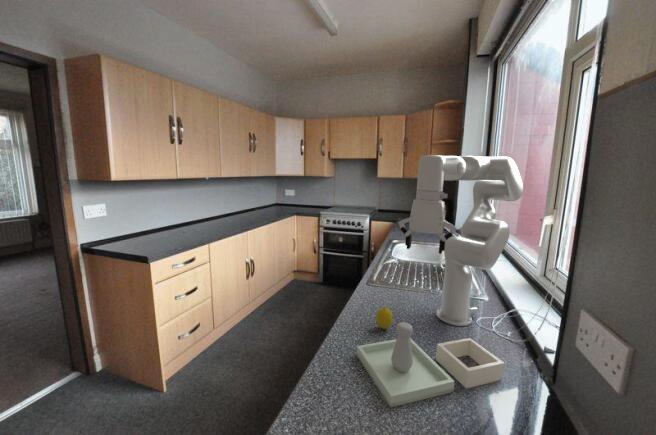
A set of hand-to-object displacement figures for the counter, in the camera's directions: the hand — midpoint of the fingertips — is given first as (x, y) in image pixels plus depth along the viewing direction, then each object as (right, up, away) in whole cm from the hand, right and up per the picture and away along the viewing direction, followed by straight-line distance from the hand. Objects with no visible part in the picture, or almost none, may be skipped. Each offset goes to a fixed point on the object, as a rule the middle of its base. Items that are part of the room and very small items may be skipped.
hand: (424, 250), depth 91 cm
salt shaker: (-10, -32, -11) cm, 35 cm away
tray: (-10, -32, -11) cm, 36 cm away
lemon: (-11, -29, +10) cm, 33 cm away
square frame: (+9, -33, -9) cm, 35 cm away
